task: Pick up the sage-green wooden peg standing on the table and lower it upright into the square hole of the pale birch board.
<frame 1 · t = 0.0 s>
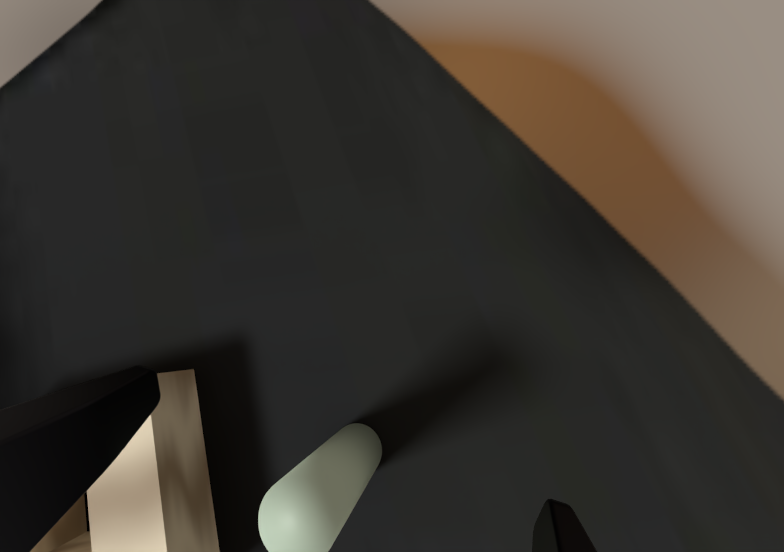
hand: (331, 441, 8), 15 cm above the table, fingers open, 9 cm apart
hole board: (114, 486, 25), on the table
peg: (356, 449, 23), on the table
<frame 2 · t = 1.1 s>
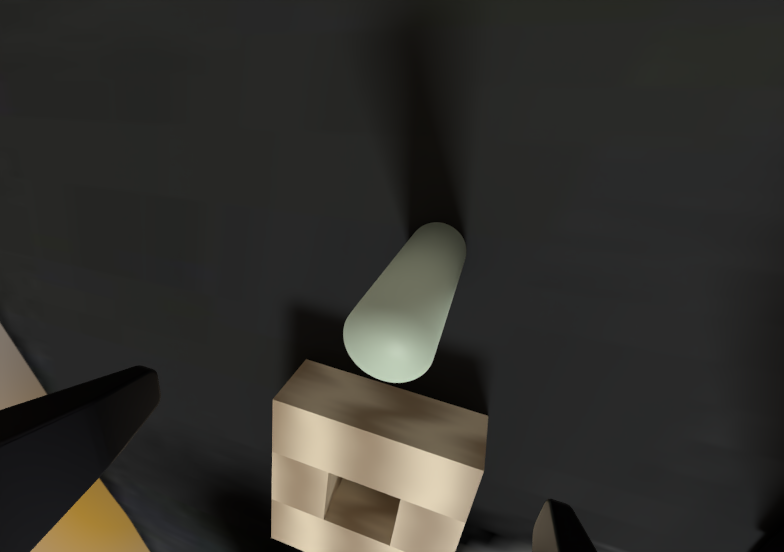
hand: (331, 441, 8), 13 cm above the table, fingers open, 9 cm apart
hole board: (379, 457, 27), on the table
peg: (437, 250, 20), on the table
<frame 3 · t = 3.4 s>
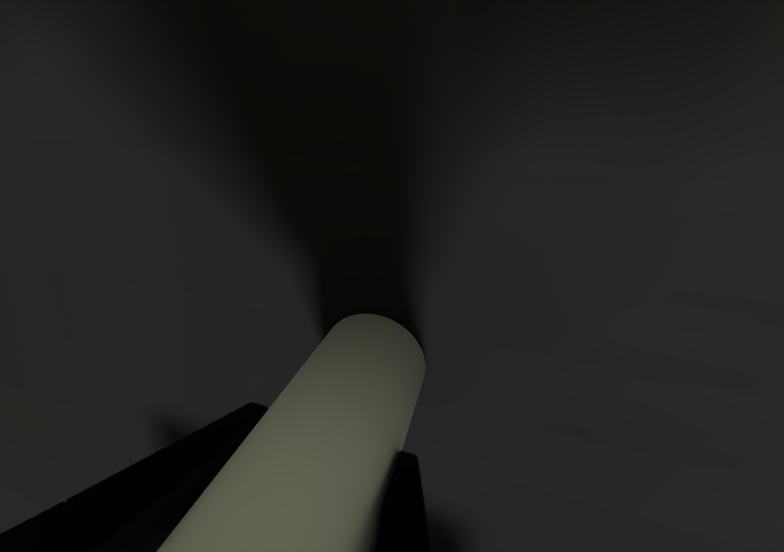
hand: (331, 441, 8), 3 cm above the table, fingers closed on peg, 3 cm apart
peg: (373, 359, 11), on the table, touching gripper
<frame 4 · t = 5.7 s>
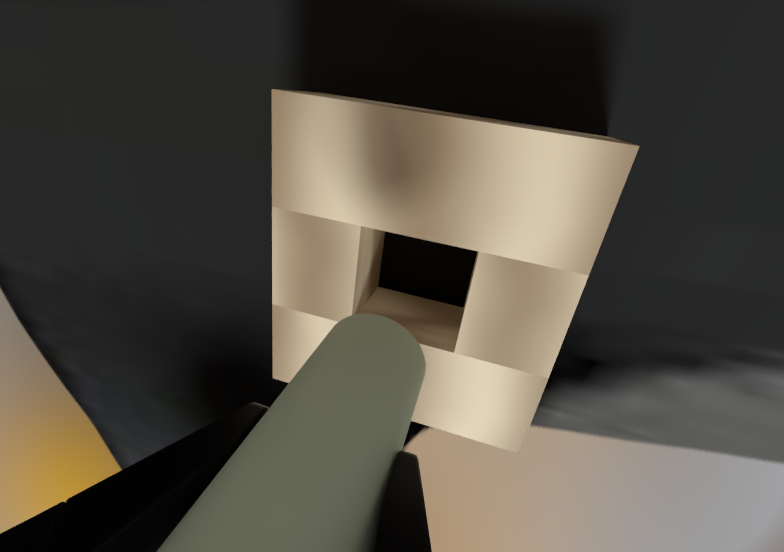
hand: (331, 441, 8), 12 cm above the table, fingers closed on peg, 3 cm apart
hole board: (427, 256, 19), on the table
peg: (374, 359, 11), point 9 cm above the table, touching gripper
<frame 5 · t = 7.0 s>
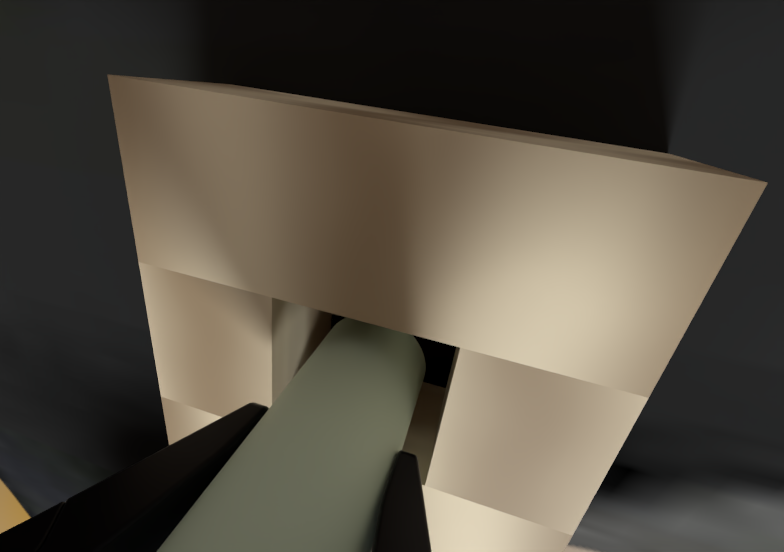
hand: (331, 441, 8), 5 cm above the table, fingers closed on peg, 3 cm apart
hole board: (393, 319, 13), on the table
peg: (374, 359, 11), point 2 cm above the table, touching gripper
when the fingers open (5 cm above the table, at t = 8.1 s): peg drops 2 cm, resting in hole board.
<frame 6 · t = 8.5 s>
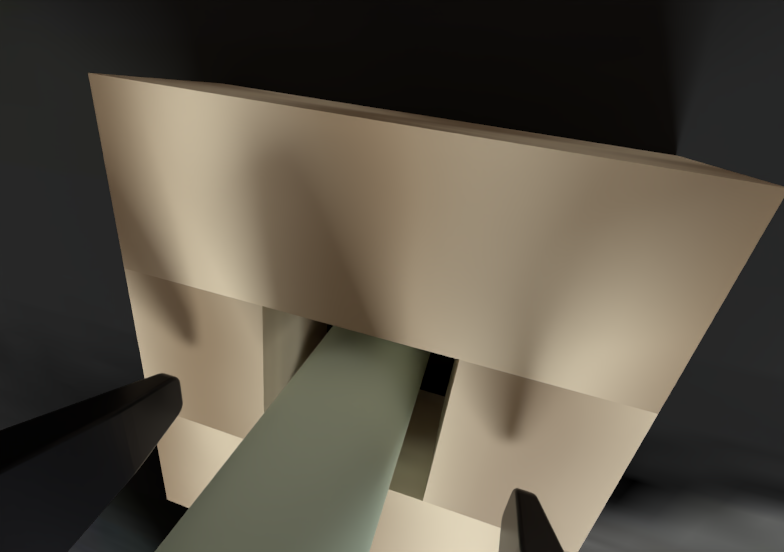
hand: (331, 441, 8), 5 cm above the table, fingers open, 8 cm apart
hole board: (391, 325, 13), on the table
peg: (391, 324, 13), resting in hole board
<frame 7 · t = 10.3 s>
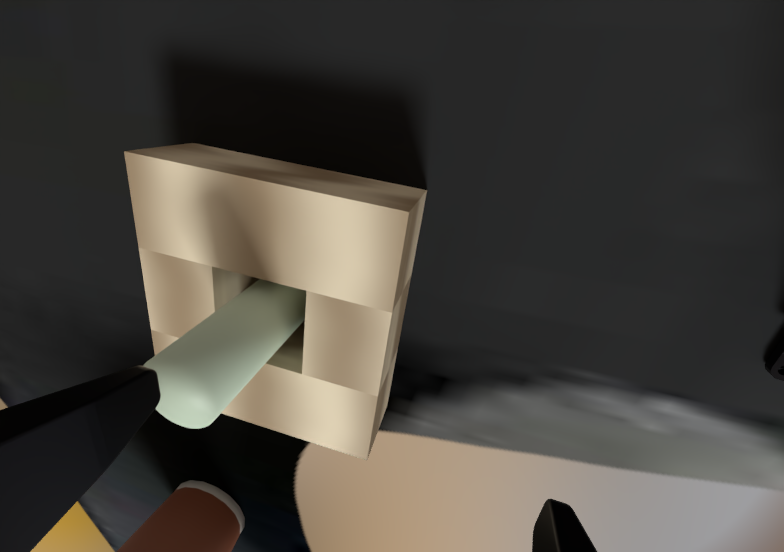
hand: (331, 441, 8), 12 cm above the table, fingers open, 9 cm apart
hole board: (298, 285, 21), on the table
peg: (298, 285, 21), resting in hole board
coffee cup: (211, 506, 32), on the table
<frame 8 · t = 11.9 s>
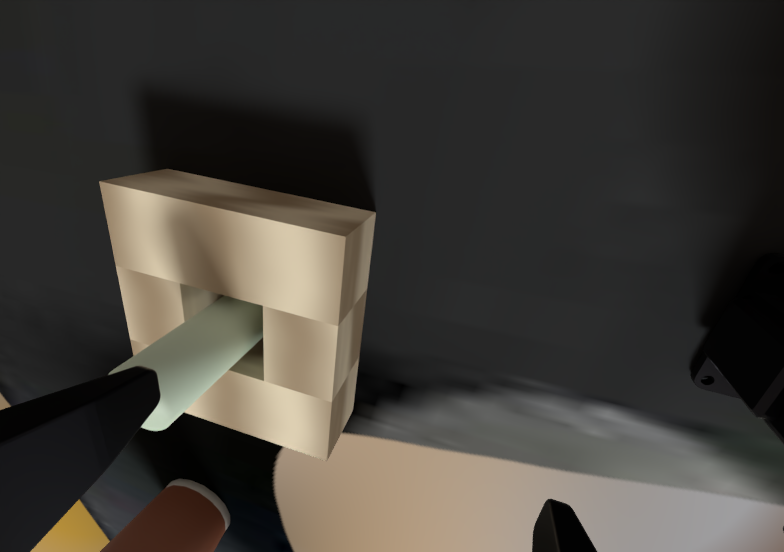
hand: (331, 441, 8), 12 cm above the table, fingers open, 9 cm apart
hole board: (267, 298, 23), on the table
peg: (267, 297, 23), resting in hole board
coffee cup: (200, 503, 34), on the table
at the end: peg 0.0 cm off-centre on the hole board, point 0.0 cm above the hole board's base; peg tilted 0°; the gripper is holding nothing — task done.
